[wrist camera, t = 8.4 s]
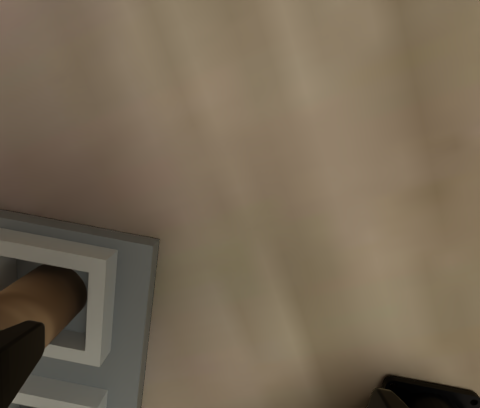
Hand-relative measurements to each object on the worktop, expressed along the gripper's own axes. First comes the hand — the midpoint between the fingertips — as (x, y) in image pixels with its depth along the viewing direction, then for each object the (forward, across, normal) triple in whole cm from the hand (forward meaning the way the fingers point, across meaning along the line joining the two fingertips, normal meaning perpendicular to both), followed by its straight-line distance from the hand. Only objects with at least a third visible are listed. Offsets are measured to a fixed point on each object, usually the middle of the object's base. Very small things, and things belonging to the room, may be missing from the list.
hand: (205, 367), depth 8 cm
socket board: (+12, +11, +12) cm, 20 cm away
